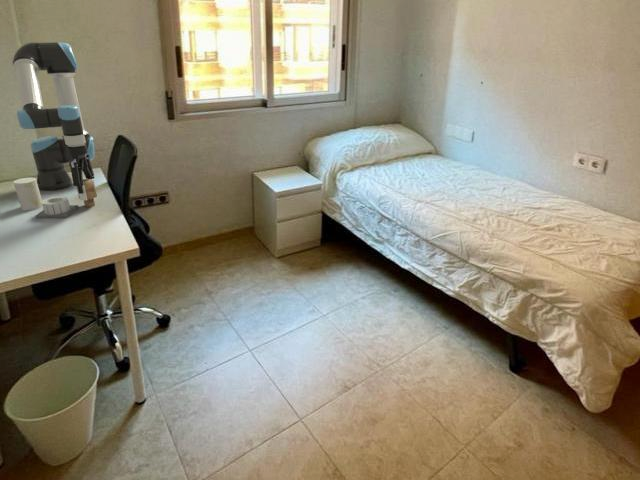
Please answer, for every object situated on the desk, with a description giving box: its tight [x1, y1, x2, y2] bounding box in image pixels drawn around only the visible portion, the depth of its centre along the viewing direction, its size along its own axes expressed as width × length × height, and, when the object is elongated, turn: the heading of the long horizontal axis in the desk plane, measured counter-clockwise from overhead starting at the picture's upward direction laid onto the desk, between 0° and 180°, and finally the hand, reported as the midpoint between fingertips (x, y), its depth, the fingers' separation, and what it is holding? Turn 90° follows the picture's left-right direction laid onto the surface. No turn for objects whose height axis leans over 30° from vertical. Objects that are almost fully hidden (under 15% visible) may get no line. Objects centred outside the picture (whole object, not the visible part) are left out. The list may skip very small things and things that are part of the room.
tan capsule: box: [75, 178, 98, 208], centre depth 190 cm, size 7×7×11 cm
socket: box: [35, 195, 80, 219], centre depth 184 cm, size 12×12×6 cm
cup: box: [13, 177, 43, 211], centre depth 188 cm, size 8×8×12 cm
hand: (88, 196), depth 191 cm, fingers open, 8 cm apart
